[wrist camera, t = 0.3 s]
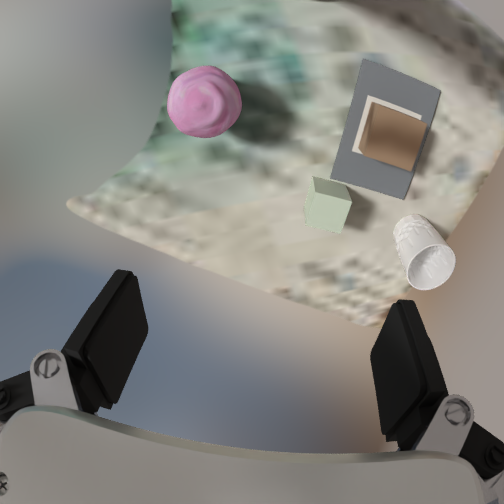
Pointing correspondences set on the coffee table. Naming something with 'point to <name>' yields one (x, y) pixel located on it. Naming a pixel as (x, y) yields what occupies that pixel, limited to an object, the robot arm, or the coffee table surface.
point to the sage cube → (326, 205)
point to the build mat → (367, 90)
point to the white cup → (423, 252)
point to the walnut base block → (391, 136)
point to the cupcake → (204, 102)
